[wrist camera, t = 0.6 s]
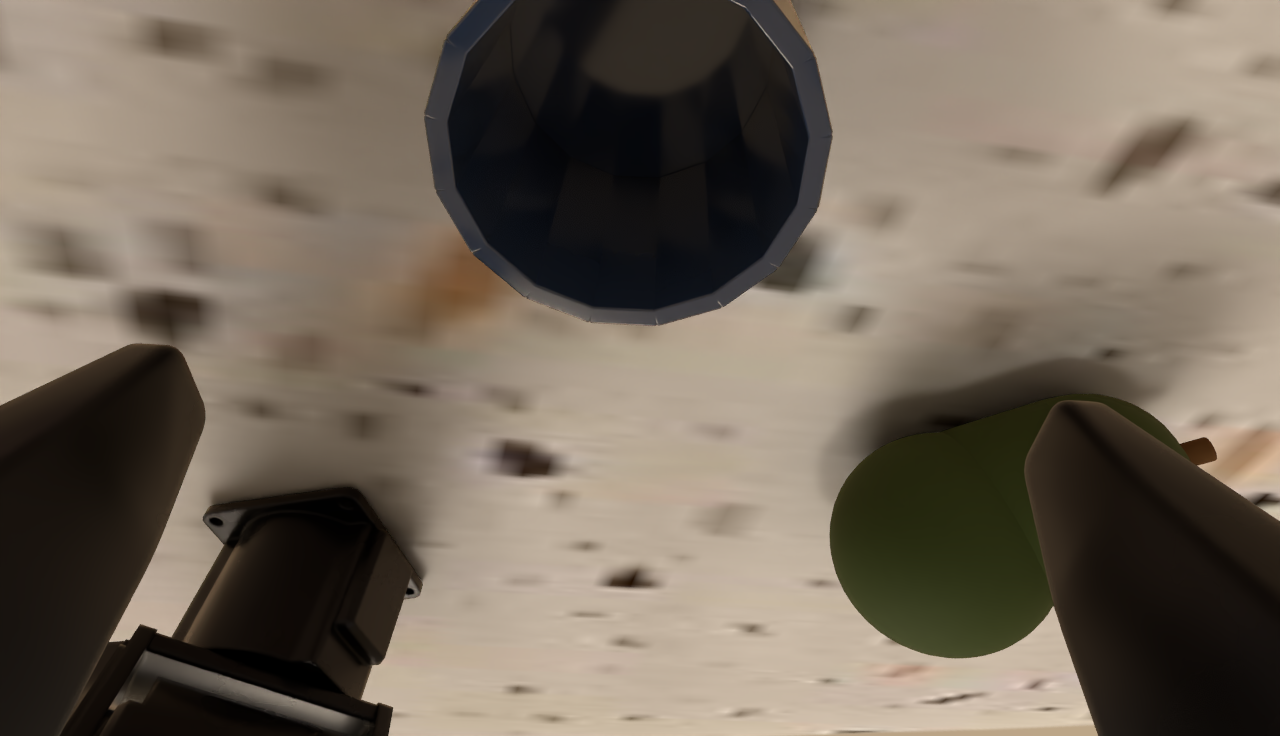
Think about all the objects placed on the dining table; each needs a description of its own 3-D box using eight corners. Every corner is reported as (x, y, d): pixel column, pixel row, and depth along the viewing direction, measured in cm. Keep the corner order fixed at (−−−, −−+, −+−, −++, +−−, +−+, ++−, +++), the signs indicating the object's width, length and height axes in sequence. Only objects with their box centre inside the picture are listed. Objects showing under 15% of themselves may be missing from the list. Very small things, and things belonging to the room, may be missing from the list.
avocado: (851, 544, 29) (889, 718, 24) (787, 429, 26) (814, 605, 20) (1174, 455, 26) (1302, 638, 20) (1152, 306, 22) (1301, 482, 17)
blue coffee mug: (765, 187, 20) (794, 334, 15) (509, 175, 20) (453, 316, 15) (837, -296, 14) (924, -320, 9) (469, -311, 14) (353, -344, 9)
